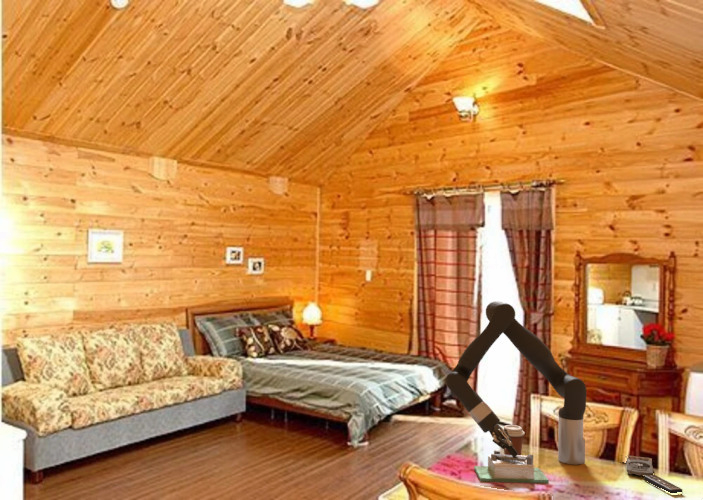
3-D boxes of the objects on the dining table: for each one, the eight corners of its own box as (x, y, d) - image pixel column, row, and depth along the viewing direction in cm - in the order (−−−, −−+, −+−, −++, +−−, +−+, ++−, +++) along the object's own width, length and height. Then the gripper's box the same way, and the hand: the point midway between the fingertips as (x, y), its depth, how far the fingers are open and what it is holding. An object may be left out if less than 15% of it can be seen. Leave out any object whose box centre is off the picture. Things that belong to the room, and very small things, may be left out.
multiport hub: (654, 480, 218) (654, 474, 218) (683, 496, 203) (683, 489, 203) (643, 481, 217) (643, 474, 217) (671, 496, 202) (671, 490, 203)
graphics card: (618, 453, 237) (652, 457, 232) (618, 463, 237) (652, 467, 232) (619, 467, 221) (655, 471, 217) (619, 477, 221) (655, 482, 217)
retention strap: (493, 458, 220) (493, 455, 220) (495, 455, 223) (495, 453, 223) (525, 461, 215) (524, 459, 215) (526, 459, 217) (526, 456, 218)
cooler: (538, 470, 225) (538, 448, 225) (548, 483, 212) (548, 459, 212) (474, 469, 225) (474, 446, 225) (480, 481, 213) (480, 457, 213)
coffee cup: (524, 462, 234) (524, 431, 234) (500, 459, 237) (500, 429, 237) (524, 454, 243) (524, 425, 243) (501, 452, 246) (501, 423, 246)
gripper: (486, 414, 217) (520, 454, 211) (496, 406, 228) (527, 444, 222) (471, 426, 219) (504, 466, 213) (481, 418, 231) (513, 456, 225)
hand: (516, 455), depth 218 cm, fingers closed
